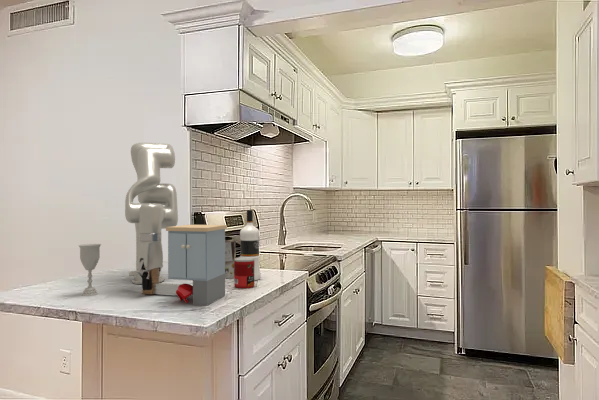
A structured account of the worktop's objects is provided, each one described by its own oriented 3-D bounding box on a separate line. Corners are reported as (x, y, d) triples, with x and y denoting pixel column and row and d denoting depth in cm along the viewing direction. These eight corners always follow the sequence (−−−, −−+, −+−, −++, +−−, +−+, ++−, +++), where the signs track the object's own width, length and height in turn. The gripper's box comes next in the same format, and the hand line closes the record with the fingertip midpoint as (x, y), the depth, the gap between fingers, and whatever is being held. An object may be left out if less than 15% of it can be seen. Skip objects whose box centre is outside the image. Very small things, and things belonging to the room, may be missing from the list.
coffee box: (234, 278, 174) (234, 241, 174) (219, 278, 174) (219, 241, 174) (235, 274, 183) (235, 239, 183) (221, 274, 183) (221, 239, 183)
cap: (181, 295, 129) (196, 283, 132) (171, 286, 133) (186, 275, 136) (188, 310, 134) (203, 299, 137) (179, 302, 138) (193, 291, 141)
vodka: (240, 277, 176) (240, 209, 176) (261, 277, 176) (261, 209, 177) (237, 281, 167) (237, 210, 167) (259, 281, 167) (259, 210, 167)
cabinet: (164, 304, 130) (164, 227, 131) (189, 293, 146) (188, 224, 146) (206, 307, 127) (206, 227, 127) (227, 295, 142) (226, 225, 142)
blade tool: (142, 293, 143) (142, 268, 143) (149, 291, 147) (149, 267, 147) (179, 296, 139) (179, 270, 139) (185, 293, 143) (185, 268, 143)
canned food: (250, 289, 153) (250, 260, 153) (231, 288, 154) (231, 259, 154) (257, 285, 160) (256, 257, 160) (238, 284, 162) (238, 257, 162)
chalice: (78, 297, 140) (78, 246, 140) (78, 293, 146) (78, 244, 146) (101, 295, 144) (101, 245, 144) (101, 291, 150) (100, 243, 150)
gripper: (155, 235, 154) (155, 283, 154) (126, 239, 137) (126, 293, 137) (172, 236, 152) (172, 284, 152) (145, 240, 136) (145, 294, 136)
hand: (150, 287), depth 145 cm, fingers closed on blade tool, 4 cm apart
